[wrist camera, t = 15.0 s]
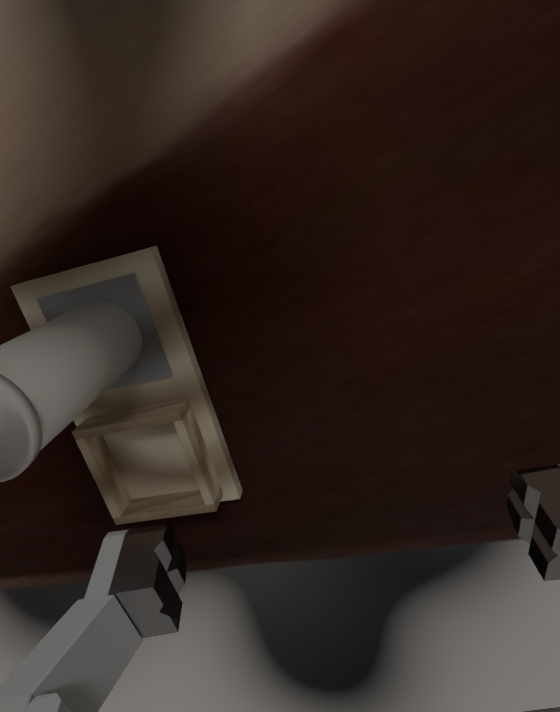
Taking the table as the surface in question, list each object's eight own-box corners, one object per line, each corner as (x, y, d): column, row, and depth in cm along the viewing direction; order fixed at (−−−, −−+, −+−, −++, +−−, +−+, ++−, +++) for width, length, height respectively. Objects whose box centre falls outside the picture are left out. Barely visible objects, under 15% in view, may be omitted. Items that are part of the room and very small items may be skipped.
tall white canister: (142, 301, 36) (21, 376, 22) (147, 378, 39) (42, 489, 25) (29, 292, 37) (-155, 359, 23) (41, 368, 40) (-118, 470, 26)
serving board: (19, 283, 39) (-12, 293, 35) (156, 245, 36) (137, 252, 32) (123, 507, 46) (106, 534, 43) (242, 490, 44) (234, 517, 40)
